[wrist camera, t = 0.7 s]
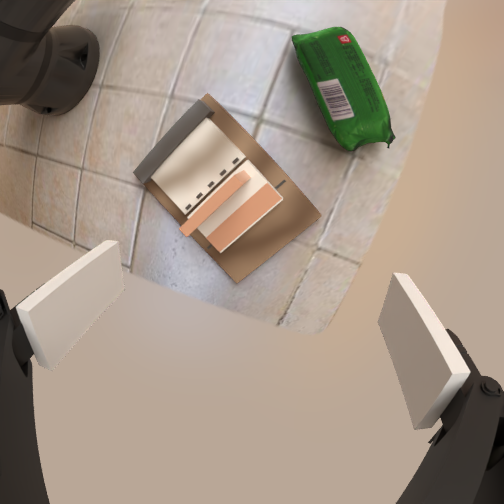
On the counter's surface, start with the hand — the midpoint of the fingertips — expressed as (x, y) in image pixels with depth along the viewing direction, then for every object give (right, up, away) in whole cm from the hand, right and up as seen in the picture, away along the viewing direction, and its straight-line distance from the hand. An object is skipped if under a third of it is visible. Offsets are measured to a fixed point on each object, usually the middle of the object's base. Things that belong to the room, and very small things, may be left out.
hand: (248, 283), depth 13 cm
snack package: (+10, +20, +16) cm, 28 cm away
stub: (-2, +7, +22) cm, 23 cm away
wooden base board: (-3, +9, +22) cm, 24 cm away
